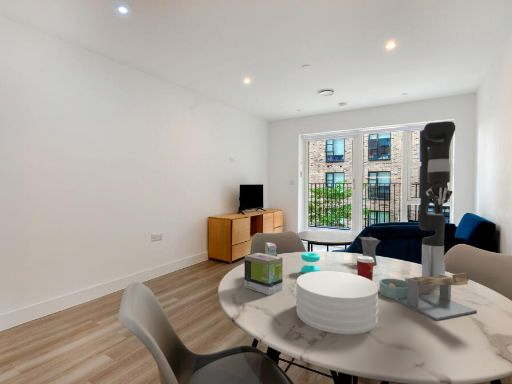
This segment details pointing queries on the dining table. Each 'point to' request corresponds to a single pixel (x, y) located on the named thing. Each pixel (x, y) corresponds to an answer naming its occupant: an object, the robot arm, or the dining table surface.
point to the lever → (443, 280)
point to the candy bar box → (270, 249)
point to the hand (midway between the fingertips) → (438, 213)
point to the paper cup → (365, 266)
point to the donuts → (310, 258)
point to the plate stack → (337, 302)
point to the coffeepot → (368, 246)
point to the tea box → (263, 273)
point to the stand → (434, 302)
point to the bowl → (393, 288)
